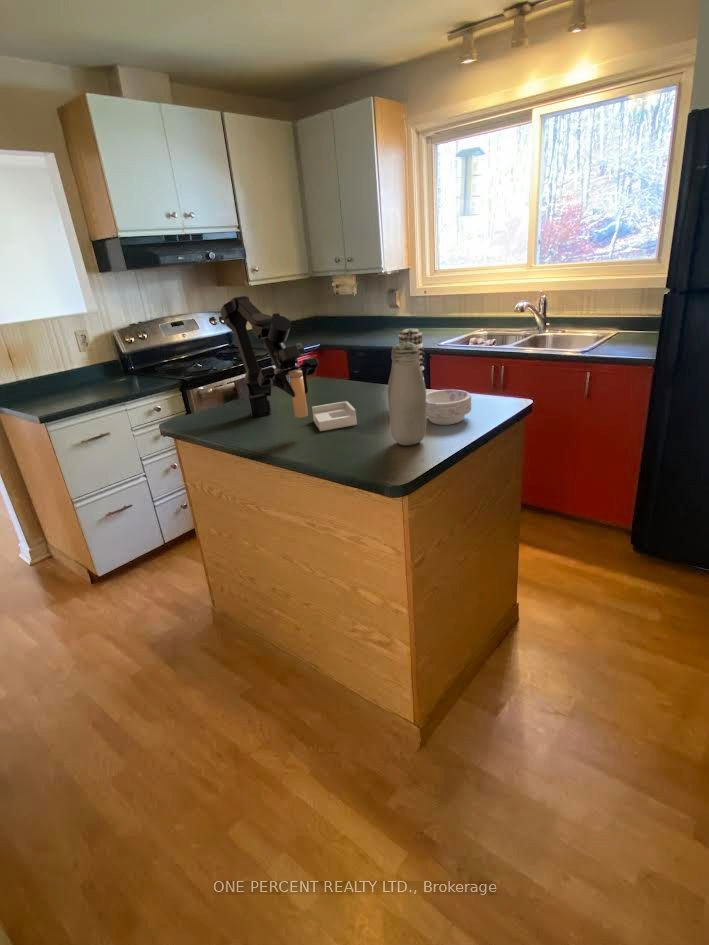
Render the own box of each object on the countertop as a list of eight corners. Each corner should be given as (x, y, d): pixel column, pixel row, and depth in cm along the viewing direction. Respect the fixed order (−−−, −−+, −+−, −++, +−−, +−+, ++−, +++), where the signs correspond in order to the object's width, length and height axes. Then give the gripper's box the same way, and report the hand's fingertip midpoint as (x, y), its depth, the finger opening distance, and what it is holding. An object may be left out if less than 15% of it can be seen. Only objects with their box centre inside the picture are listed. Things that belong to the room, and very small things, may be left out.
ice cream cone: (296, 418, 154) (289, 373, 148) (293, 414, 157) (287, 371, 152) (309, 416, 155) (303, 371, 149) (306, 412, 158) (300, 369, 153)
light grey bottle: (402, 453, 139) (396, 348, 128) (385, 442, 148) (378, 343, 136) (434, 444, 142) (430, 342, 131) (415, 434, 151) (410, 337, 140)
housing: (320, 431, 162) (318, 415, 160) (313, 421, 172) (311, 406, 170) (357, 424, 164) (355, 409, 162) (348, 415, 174) (347, 400, 172)
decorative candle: (410, 408, 174) (406, 333, 164) (395, 402, 182) (390, 330, 172) (432, 402, 178) (429, 328, 168) (416, 397, 186) (413, 326, 176)
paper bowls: (411, 423, 160) (410, 398, 157) (440, 410, 170) (440, 386, 167) (452, 432, 150) (452, 405, 147) (480, 417, 160) (481, 392, 156)
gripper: (254, 341, 145) (277, 385, 141) (312, 330, 154) (335, 371, 150) (248, 365, 155) (270, 407, 150) (303, 353, 163) (324, 393, 159)
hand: (300, 394), depth 152 cm, fingers closed on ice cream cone, 4 cm apart
